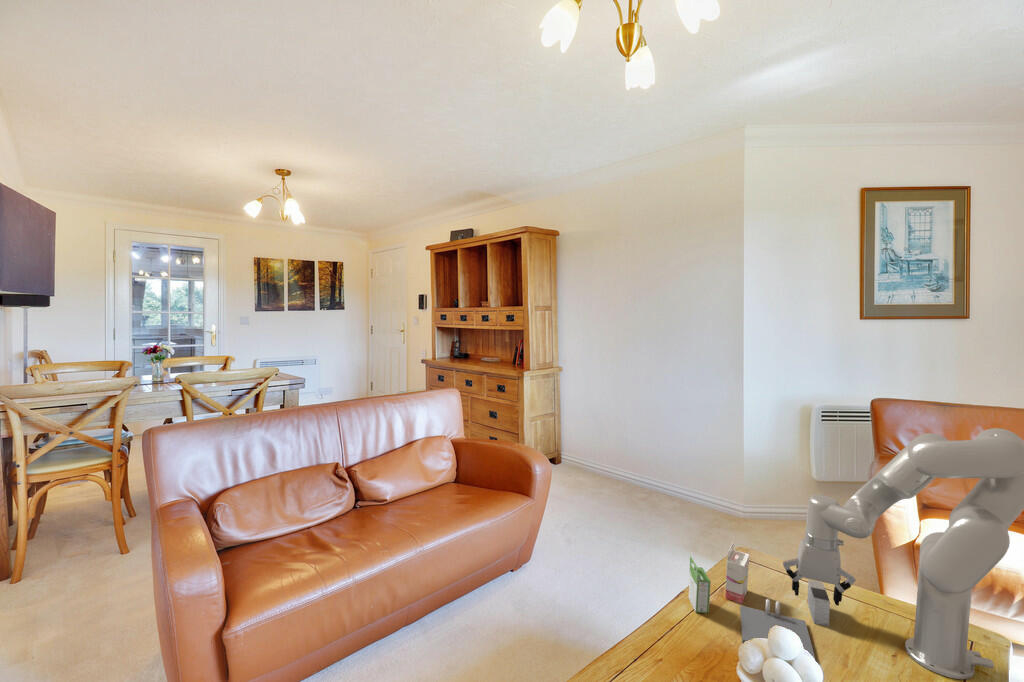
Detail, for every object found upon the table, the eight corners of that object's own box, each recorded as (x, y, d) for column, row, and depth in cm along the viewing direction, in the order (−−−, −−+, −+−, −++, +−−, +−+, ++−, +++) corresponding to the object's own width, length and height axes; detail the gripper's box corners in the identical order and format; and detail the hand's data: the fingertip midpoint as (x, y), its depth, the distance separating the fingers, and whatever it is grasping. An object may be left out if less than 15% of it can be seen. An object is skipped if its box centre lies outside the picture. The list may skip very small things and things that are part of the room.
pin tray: (804, 624, 128) (805, 606, 127) (815, 662, 114) (816, 643, 114) (740, 608, 134) (740, 592, 134) (742, 643, 120) (743, 624, 120)
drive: (821, 605, 136) (822, 582, 135) (828, 627, 127) (830, 602, 126) (807, 602, 137) (808, 579, 137) (813, 623, 128) (814, 599, 128)
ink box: (709, 614, 132) (711, 568, 131) (695, 613, 132) (696, 568, 131) (701, 598, 139) (703, 555, 138) (688, 597, 139) (689, 554, 138)
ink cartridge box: (743, 605, 136) (745, 556, 135) (724, 598, 139) (726, 551, 138) (748, 590, 143) (750, 544, 142) (730, 584, 146) (732, 539, 145)
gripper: (854, 541, 130) (849, 598, 132) (783, 527, 137) (779, 582, 139) (862, 554, 123) (856, 615, 125) (787, 539, 130) (782, 596, 132)
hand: (815, 597), depth 132 cm, fingers open, 9 cm apart
